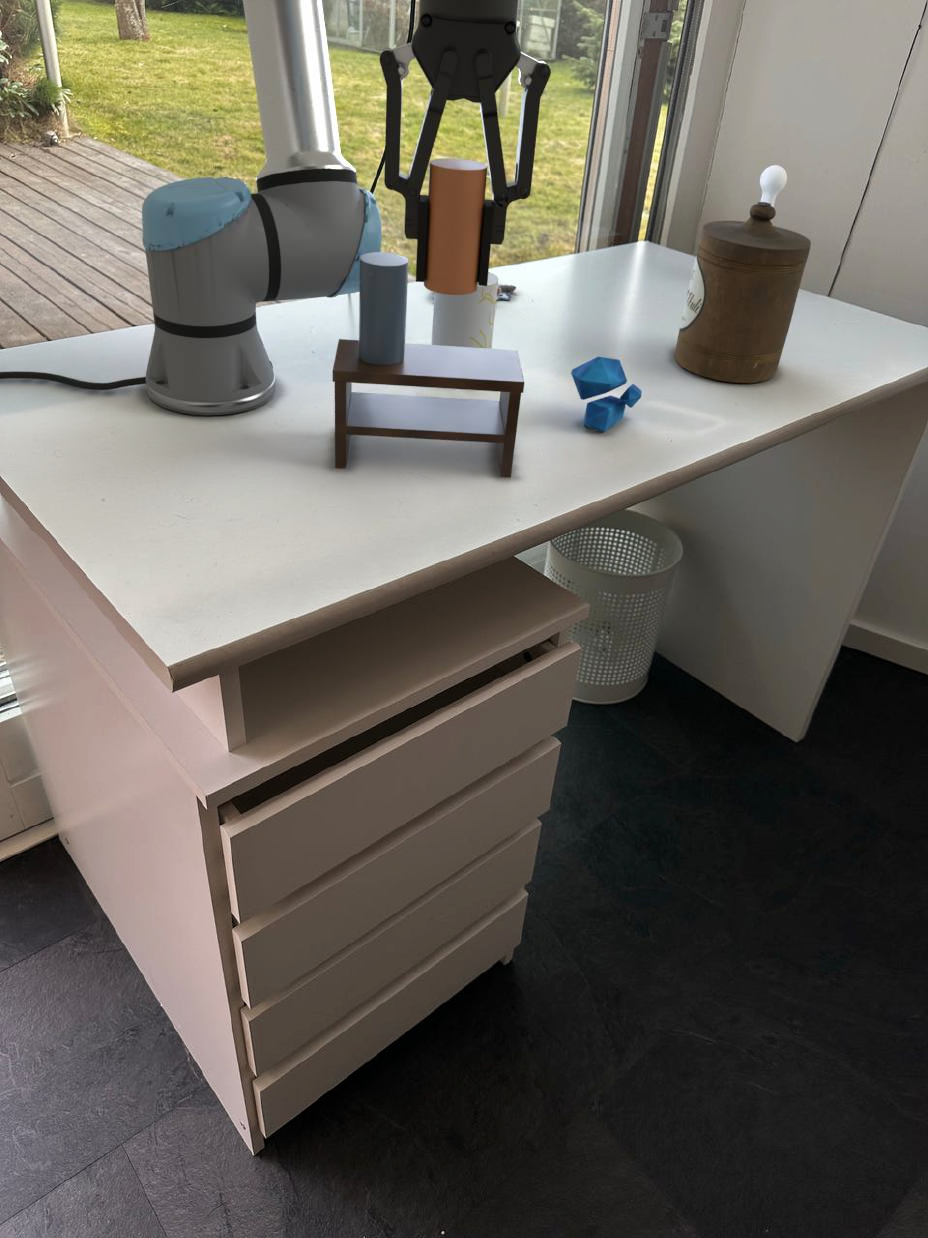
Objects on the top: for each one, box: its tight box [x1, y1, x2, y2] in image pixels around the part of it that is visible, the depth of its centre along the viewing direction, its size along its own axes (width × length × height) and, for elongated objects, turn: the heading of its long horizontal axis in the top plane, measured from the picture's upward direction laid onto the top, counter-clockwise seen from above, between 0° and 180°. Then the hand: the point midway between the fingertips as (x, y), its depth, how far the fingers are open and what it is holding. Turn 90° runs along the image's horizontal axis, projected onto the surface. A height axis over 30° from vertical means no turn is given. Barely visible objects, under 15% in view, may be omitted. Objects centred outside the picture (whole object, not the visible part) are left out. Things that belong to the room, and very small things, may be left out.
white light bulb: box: [759, 164, 788, 222], centre depth 161 cm, size 11×8×20 cm
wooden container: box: [673, 201, 812, 384], centre depth 128 cm, size 15×15×22 cm
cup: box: [430, 271, 499, 349], centre depth 122 cm, size 8×8×12 cm
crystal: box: [570, 356, 642, 433], centre depth 112 cm, size 7×9×12 cm
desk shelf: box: [332, 338, 525, 478], centre depth 100 cm, size 20×9×11 cm, turn 92°
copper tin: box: [423, 157, 488, 295], centre depth 79 cm, size 5×5×10 cm
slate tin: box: [358, 251, 409, 365], centre depth 94 cm, size 5×5×10 cm
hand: (451, 278), depth 81 cm, fingers closed on copper tin, 5 cm apart
